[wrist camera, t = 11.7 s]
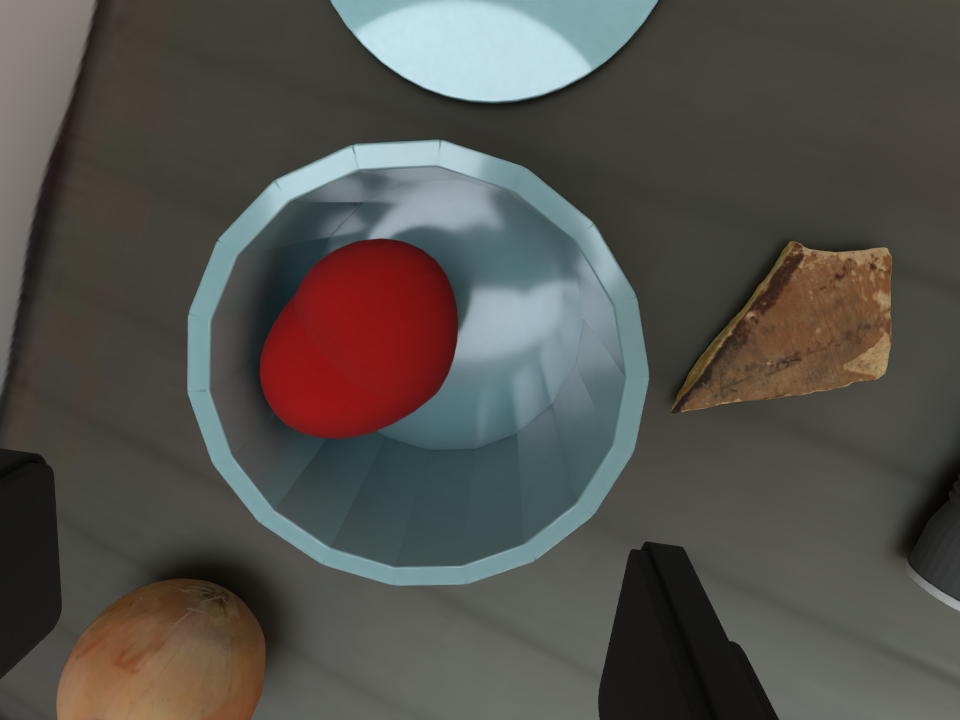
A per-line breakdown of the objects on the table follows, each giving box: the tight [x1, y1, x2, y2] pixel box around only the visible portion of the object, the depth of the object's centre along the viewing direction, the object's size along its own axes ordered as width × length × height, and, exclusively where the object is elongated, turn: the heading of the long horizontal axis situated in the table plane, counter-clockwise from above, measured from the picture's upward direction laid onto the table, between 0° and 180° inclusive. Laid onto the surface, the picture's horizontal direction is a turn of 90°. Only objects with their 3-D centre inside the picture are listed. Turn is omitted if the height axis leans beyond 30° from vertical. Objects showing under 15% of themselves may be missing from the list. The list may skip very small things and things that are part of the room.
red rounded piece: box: [259, 238, 458, 439], centre depth 26 cm, size 9×7×10 cm
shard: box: [670, 241, 892, 414], centre depth 30 cm, size 11×8×2 cm
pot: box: [187, 140, 649, 586], centre depth 26 cm, size 16×16×12 cm
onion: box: [57, 579, 265, 720], centre depth 32 cm, size 10×10×10 cm
